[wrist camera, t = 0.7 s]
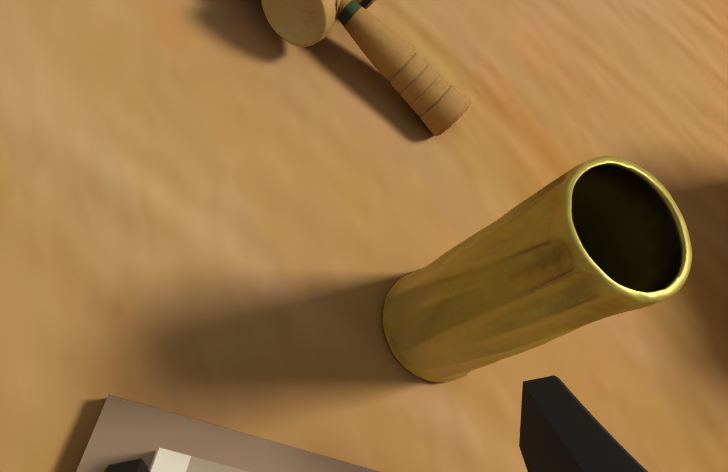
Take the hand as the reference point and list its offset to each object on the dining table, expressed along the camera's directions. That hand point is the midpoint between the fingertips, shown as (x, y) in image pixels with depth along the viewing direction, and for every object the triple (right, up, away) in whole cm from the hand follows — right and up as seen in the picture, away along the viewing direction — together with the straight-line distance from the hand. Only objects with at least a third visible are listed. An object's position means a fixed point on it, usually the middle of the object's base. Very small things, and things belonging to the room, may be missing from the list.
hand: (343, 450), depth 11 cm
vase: (+4, -1, +21) cm, 21 cm away
